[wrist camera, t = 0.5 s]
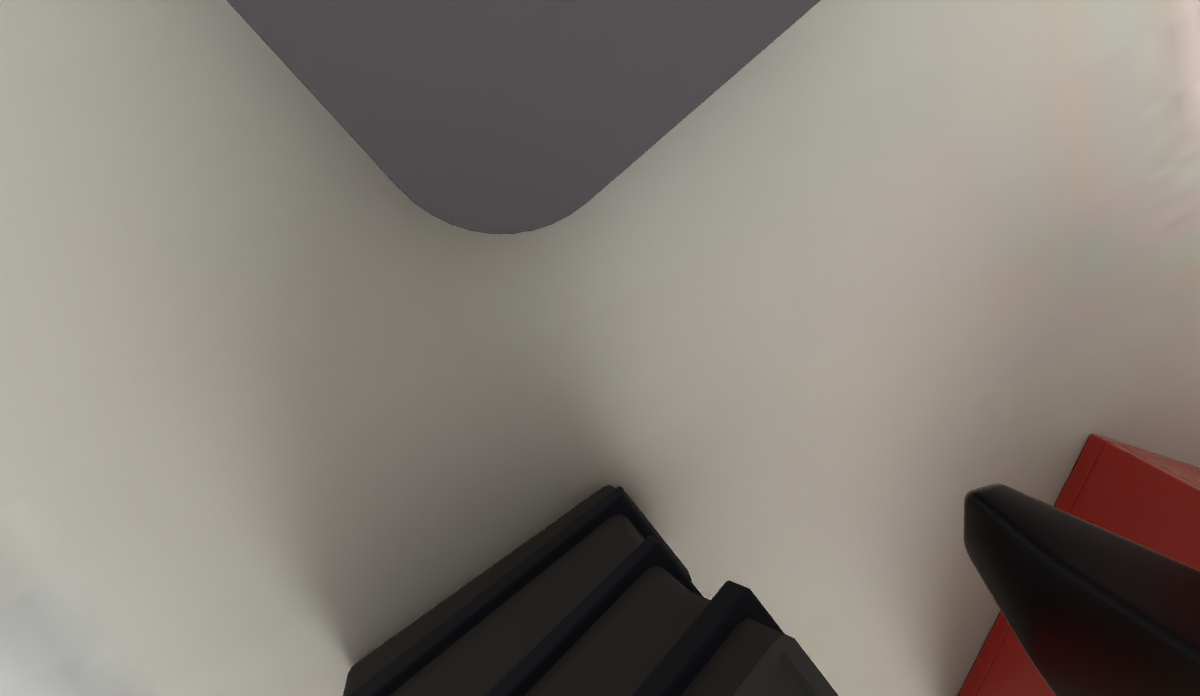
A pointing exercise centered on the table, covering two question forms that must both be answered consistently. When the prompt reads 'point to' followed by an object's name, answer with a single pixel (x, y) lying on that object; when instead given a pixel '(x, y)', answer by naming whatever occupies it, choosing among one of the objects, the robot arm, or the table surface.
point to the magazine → (591, 625)
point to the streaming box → (513, 88)
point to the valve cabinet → (1120, 505)
